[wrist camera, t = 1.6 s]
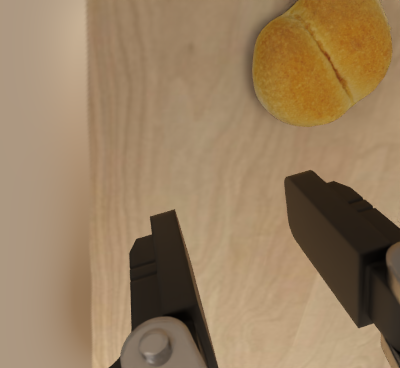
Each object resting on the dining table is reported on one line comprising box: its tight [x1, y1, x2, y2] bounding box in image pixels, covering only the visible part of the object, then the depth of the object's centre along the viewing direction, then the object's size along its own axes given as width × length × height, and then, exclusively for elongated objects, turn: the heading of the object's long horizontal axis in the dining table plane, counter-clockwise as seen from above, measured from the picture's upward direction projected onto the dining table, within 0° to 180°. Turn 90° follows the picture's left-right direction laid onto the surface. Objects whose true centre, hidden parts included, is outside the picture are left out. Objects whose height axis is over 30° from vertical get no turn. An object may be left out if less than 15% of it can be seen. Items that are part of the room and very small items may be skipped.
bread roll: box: [252, 0, 392, 127], centre depth 23 cm, size 8×9×4 cm
